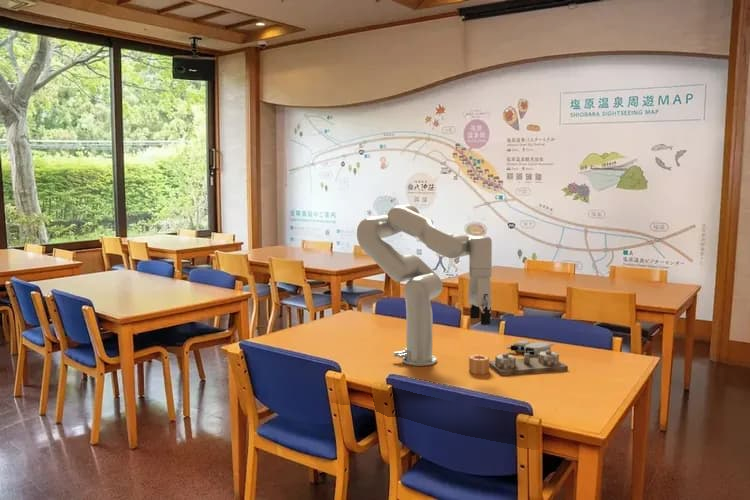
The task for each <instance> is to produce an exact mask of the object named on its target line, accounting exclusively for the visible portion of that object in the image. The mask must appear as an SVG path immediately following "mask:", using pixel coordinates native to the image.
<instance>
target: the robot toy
mask: <svg viewBox="0 0 750 500" xmlns="http://www.w3.org/2000/svg"><path fill="white" fill-rule="evenodd" d="M551 346H555V343H553V344H550V343H548V342H542V341H541V342H540V341H537V342H530V341H527V340H520V341H516V342H513V344H512V345H510V346H508V345H507V347H506V349H507V350H510V351H514V352H516V351H517V353H520V354H521V353H524V354H525V353H529V354H530V357H531V358H537V357H538V353H540V352H541V351H543V352H545V351H546V350H550V351H551V352H552V349H551Z"/></svg>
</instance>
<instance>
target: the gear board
mask: <svg viewBox="0 0 750 500" xmlns="http://www.w3.org/2000/svg"><path fill="white" fill-rule="evenodd" d="M523 355H524V356H523V357H524V358H517V357H516V356H514V355H512V354H509V353H505V352H504V353H502V354H499V353H498V354H496V355H495V357H494V358H495V359H494V360H489V369H492V370H493V371H494V372H495V373H497V374H498V375H500V376H512V375H525V374H537V373H550V372H563V371H565V370H566V371H569V370H568V369H569V367H568V365H567V364H565V363H564V362H562V361H560V354H559V353H557V352H555V351H552V350H551V351H550V350H546V351H545V352H543V351H541V352H540V353H538V357H531V356H530V354H529V353H525V352H524V353H523ZM566 371H565V372H566Z"/></svg>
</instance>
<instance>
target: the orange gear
mask: <svg viewBox="0 0 750 500" xmlns="http://www.w3.org/2000/svg"><path fill="white" fill-rule="evenodd" d="M489 361H490V356H487V355H484V354H473V355H469V357H468V372H469V373H471V374H473V375H480V376H481V375H486V374H489V373H490V367H489Z"/></svg>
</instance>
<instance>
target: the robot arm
mask: <svg viewBox="0 0 750 500" xmlns="http://www.w3.org/2000/svg"><path fill="white" fill-rule="evenodd" d="M399 233H405V234H407V235H409V236H410V237H413V238H414V239H417V240H419V241H421V243H422V244H424V246H425V247H427V248H428V249H429V250H431V251H433V252H434V253H437V254H439V255H442V256H443V257H445V258H448V259H457V258H461V257H465V256H469V258H468V259H469V263H468V264H469V267H468V268H469V269H468V270H469V272H468V273H469V275H468V276H469V282H468V294H467V295H468V297H467V298H468V299H467V300H468V303H469V304H470V310H469V311H470V319H472V320H473V319H480V325H481V326H488V325H491V313H492V288H491V286H492V284H491V278H492V262H493V261H492V260H493V259H492V257H493V256H492V255H493V254H492V251H493V249H492V247H493V245H492V242H493V241H492V239H491V237H490V236H487V235H485V236H484V235H475V236H473V235H468V234H456V235H449V234H447V233H445V232H443V231H442V230H440V229H437V228H436V226H434V221H433V220H432V219H431V218H430V217H427V216H425V215H422V214H420V212H419V210H418V208H417V207H416V206H414V205H412V204H401V205H395V206H393V207H392V208H390V209H389V210H388V212H387V213H386V214H383V215H377V216H376V215H375V216H368V217H366V218H364V219H362V220H361V221H360V222H359V224H358V226H357V229H356V238H357V239H356V240H357V241H358V245H359V247H360V248H361V249H362V251H363V252H364V253H365V254H366V255H368V257H370V259H372V260H373V261H374V262H375V264H377V265H378V266H379V268H380V269H381V270H383V272H384V273H385V274H387V276H388V277H390V279H392V280H393V281H394V282H397V283H402V282H406V283H405V285H404V289H403V295H404V301H405V311H406V312H405V313H406V319H405V320H406V347H404V349H403V350H401V351H393V356H394V358H398V359H402V360H401V361H402V362H403V363H404V364H406V365H409V366H413V367H414V366H415V367H423V366H425V367H426V366H432V365H434V364H436V363H437V361H438V360H437V359H438V358H437V357H436V356H434V355H433V322H434V321H433V308H432V304H431V300H432V299H435V298H437V297H439V296H440V294H441V293H442V291H443V286H444V285H443V282H442V279H441V278H440V277H439V276H438V274H437V273H436V272H435V271H434V270H432V269H431V267H430V266H428V265H427V264H426V263H425V262H424V261H423V260H422V259H421V258H419V257H418V256H416V255H414V254H411V253H410V254H403V255H402V254H400V253H399V251H397V250H396V249H395V248H394V247H393V246H392V245H391V244H389V243H387V242H386V241H385V240H383V238H388V237H391V236H394V235H397V234H399ZM480 311H481V313H480Z"/></svg>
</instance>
